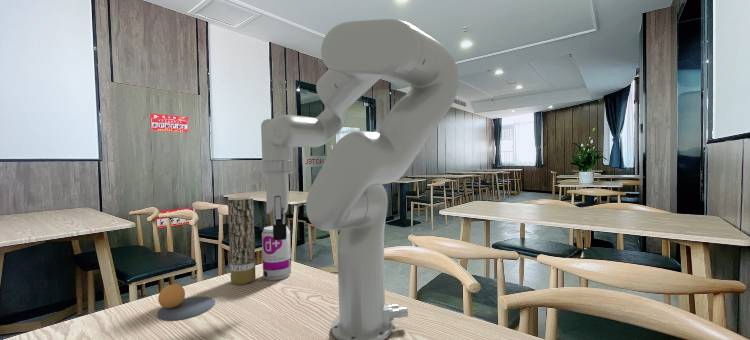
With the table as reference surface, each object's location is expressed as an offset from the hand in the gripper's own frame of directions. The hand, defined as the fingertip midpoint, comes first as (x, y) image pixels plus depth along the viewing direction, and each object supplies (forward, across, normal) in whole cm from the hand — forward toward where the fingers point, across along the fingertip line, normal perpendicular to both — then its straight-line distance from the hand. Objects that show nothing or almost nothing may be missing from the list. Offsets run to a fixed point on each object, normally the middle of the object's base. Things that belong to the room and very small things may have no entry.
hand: (280, 239), depth 81 cm
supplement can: (+15, -16, -2) cm, 22 cm away
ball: (+12, -2, -26) cm, 29 cm away
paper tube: (+15, -14, -12) cm, 24 cm away
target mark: (+15, 0, -22) cm, 27 cm away
